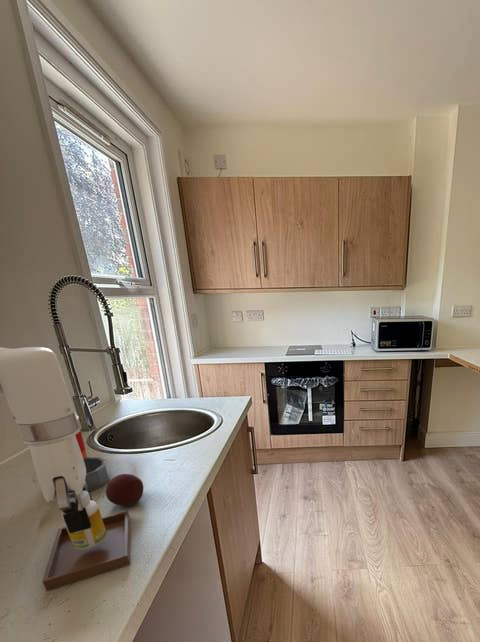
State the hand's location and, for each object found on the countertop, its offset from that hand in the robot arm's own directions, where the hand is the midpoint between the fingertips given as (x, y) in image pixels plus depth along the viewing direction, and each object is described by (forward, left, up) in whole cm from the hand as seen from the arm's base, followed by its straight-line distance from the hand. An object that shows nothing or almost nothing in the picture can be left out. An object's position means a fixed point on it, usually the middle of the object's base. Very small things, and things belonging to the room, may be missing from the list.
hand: (82, 519), depth 63 cm
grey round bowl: (-4, +30, -7) cm, 31 cm away
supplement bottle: (0, 0, -5) cm, 5 cm away
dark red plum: (+6, +15, -7) cm, 18 cm away
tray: (0, 0, -7) cm, 7 cm away
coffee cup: (-7, +42, -7) cm, 43 cm away
